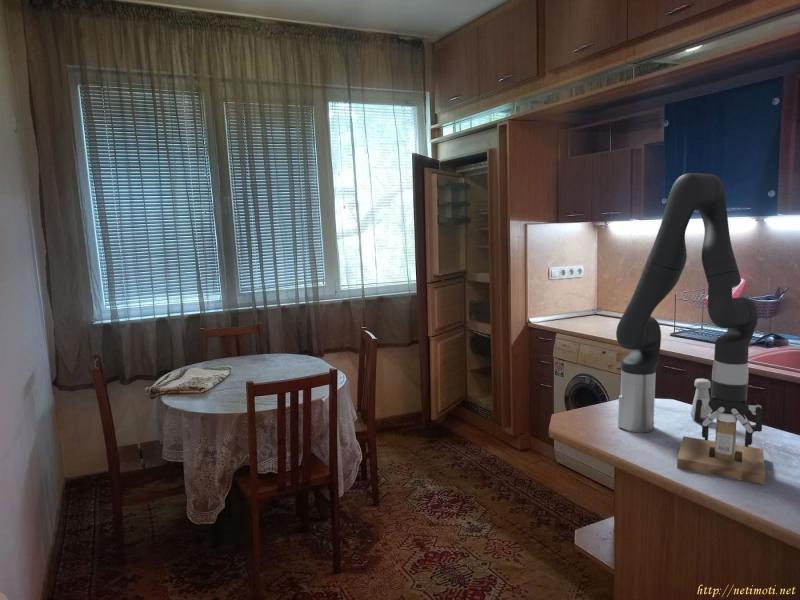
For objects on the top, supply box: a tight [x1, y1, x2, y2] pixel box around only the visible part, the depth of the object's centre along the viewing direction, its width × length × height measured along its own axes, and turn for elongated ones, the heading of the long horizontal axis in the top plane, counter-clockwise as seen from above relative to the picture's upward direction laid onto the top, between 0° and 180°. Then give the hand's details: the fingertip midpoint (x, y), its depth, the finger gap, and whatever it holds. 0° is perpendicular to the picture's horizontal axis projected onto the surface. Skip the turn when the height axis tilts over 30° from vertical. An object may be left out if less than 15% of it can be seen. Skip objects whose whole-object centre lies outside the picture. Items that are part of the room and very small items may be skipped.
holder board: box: [676, 436, 766, 485], centre depth 136 cm, size 18×16×2 cm
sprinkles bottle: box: [714, 413, 738, 462], centre depth 135 cm, size 5×5×14 cm
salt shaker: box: [690, 378, 712, 424], centre depth 164 cm, size 6×6×13 cm
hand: (726, 442), depth 135 cm, fingers open, 8 cm apart
